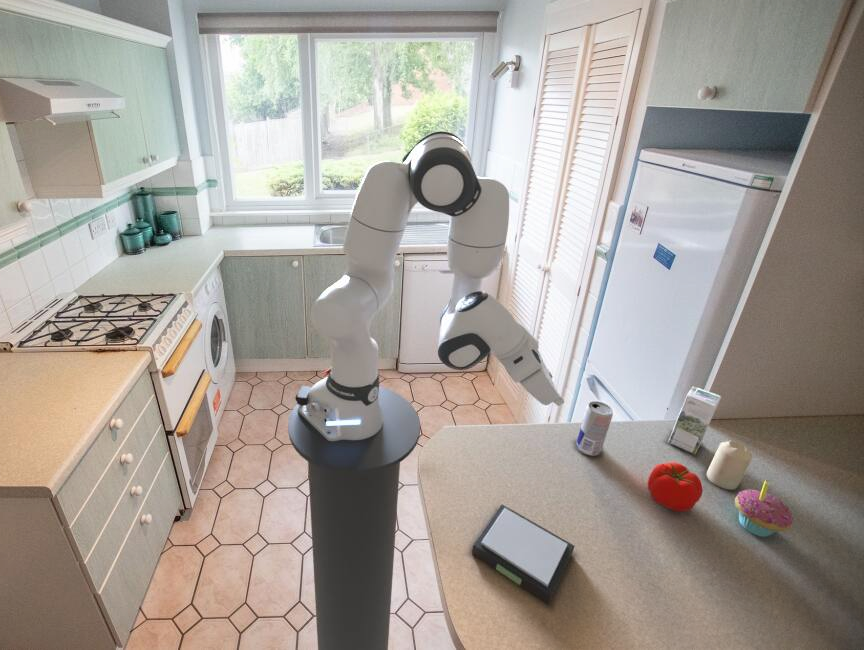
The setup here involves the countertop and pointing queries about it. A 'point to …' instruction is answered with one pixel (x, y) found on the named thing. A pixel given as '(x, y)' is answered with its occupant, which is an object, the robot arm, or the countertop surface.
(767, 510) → the cupcake
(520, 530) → the scale
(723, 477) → the candle
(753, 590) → the countertop surface
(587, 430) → the energy drink
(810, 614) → the countertop surface
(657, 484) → the tomato
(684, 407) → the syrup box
